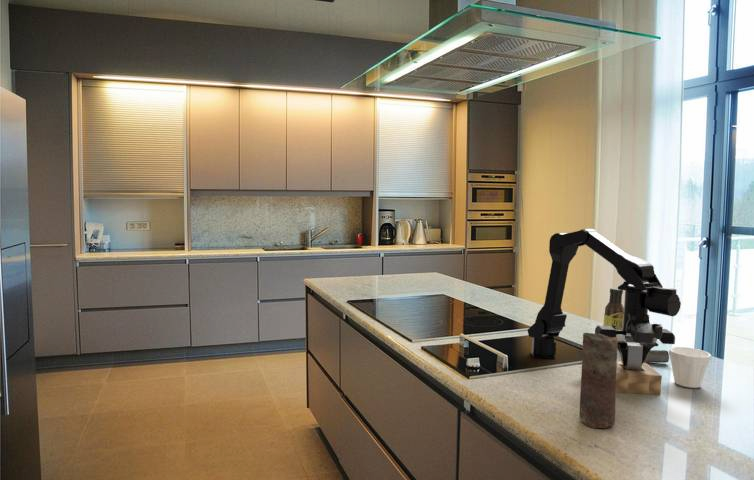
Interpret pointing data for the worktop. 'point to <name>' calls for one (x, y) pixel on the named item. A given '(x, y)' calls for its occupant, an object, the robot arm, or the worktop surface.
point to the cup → (689, 366)
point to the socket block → (638, 380)
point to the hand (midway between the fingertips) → (631, 366)
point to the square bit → (633, 356)
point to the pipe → (654, 354)
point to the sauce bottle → (614, 310)
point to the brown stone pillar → (598, 380)
